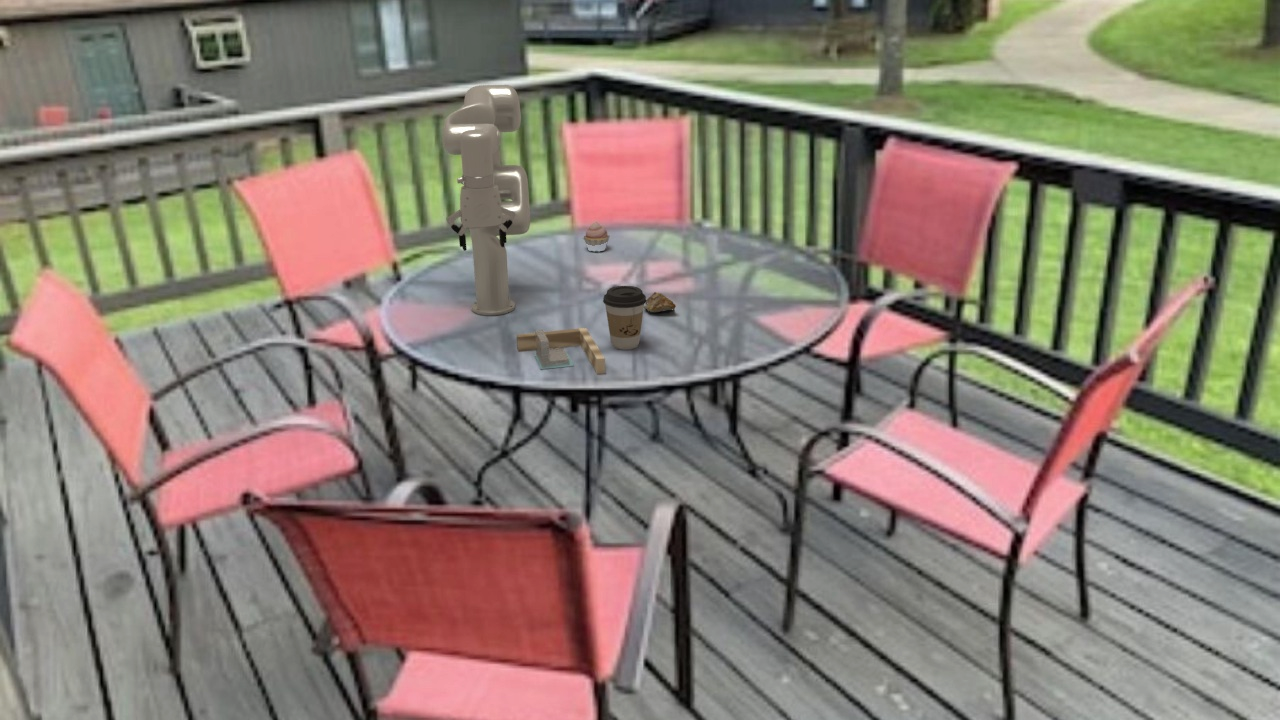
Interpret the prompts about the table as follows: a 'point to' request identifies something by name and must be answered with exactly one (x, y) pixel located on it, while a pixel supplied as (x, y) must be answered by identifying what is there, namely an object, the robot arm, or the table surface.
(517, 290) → the table surface
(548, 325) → the table surface
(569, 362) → the teal square plate
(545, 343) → the bracket
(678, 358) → the table surface
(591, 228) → the cupcake
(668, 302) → the pie slice
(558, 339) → the wooden l-shaped piece
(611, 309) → the coffee cup
